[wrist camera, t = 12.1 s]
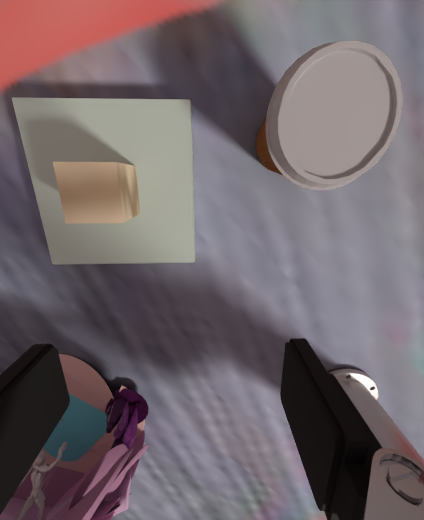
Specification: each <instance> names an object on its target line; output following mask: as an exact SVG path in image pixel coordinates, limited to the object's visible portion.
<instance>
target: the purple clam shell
mask: <svg viewBox="0 0 424 520" xmlns="http://www.w3.org/2000/svg"><path fill="white" fill-rule="evenodd" d="M59 358H60V361H61V365H62V369H63V373H64V377H65V381H66V385H67V389H68V392H69V396H70V403H69V406H68V408H67V410H66V412H65V413H64V415H63V416H62V418H61V420H60V421H59V423H58V424H57V426H56V428H55V429H54V431H53V432H52V434H51V435H50V437H49V439H48V440H47V442H46V443H45V445H44V447H43V448H42V450H41V451H40V453H39V455H38V456H37V458H36V459H35V461H34V463H33V464H32V466H31V467H30V469H29V471H28V472H27V474H26V475H25V477H24V478H23V480H22V482H21V483H20V485H19V486H18V488H17V490H16V491H15V493H14V494H13V496H12V498H11V499H10V501H9V502H8V504H7V506H6V507H5V509H4V510H3V512H2V513H1V515H0V520H110V519H111V518H112V516H114V515H116V514H118V513H120V512H122V511H125V510H127V509H128V506H129V495H130V494H131V493H130V484H131V479H132V477H133V475H134V472H135V470H136V467H137V465H138V462H139V459H140V457H141V456H142V454H143V453H144V452H145V451H146V449H147V447H148V444H147V445H145V446H144V447H143V443H144V435H145V433H144V424H145V418H146V416H147V414H148V405H147V402H146V401H145V399H144V398H143V397H142V396H141V395H139V394H138V393H137V392H135V391H133V390H131V389H127V387H126V388H125V387H124V386H121V388H120V389H119V390H117V391H115V392H113V393H111V391H110V389H109V387H108V386H107V384H106V382H105V381H104V380H103V378H102V377H101V376H100V375H99V374H98V373H97V372H96V371H95V370H94V369H93V368H92V367H91V366H89V365H88V364H87V363H85V362H83V361H82V360H80V359H78V358H75V357H73V356H69V355H65V354H59Z"/></svg>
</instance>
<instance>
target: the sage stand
mask: <svg viewBox="0 0 424 520" xmlns="http://www.w3.org/2000/svg"><path fill="white" fill-rule="evenodd" d="M12 102H13V106H14V110H15V114H16V118H17V122H18V126H19V130H20V134H21V138H22V142H23V147H24V151H25V155H26V159H27V163H28V167H29V171H30V175H31V179H32V183H33V187H34V191H35V195H36V200H37V204H38V208H39V212H40V216H41V220H42V224H43V228H44V232H45V236H46V240H47V244H48V248H49V253H50V257H51V261H52V265H60V264H124V263H187V262H195V219H194V181H193V143H192V108H191V101H190V100H182V99H95V98H12ZM53 162H118V163H124V164H129V165H134V166H136V175H137V185H138V195H139V205H140V214H139V215H137V216H135V217H133V218H132V219H130V220H128V221H126V222H125V223H77V224H66V223H65V218H64V214H63V209H62V204H61V199H60V194H59V190H58V185H57V180H56V175H55V171H54V166H53Z"/></svg>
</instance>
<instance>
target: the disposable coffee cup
mask: <svg viewBox="0 0 424 520" xmlns="http://www.w3.org/2000/svg"><path fill="white" fill-rule="evenodd" d="M401 111H402V89H401V82H400V80H399V77H398V74H397V72H396V69H395V67H394V66H393V64H392V62H391V61H390V59H389V58H388V57H387V56H386V55H385V54H384V53H383V52H382V51H380V50H379V49H377V48H376V47H374V46H373V45H371V44H367V43H363V42H359V41H343V42H334V43H328V44H324V45H321V46H319V47H316V48H314V49H311V50H310V51H309V52H307V53H306V54H304V55H303V56H301V57H300V58H298V59H297V60H296V61H295V62H294V63H293V64H292V65H291V66H290V67H289V69H288V70H287V71H286V72H285V73H284V75H283V77H282V78H281V80H280V81H279V83H278V84H277V86H276V88H275V90H274V92H273V95H272V98H271V100H270V103H269V106H268V110H267V117H266V119H265V121H264V122H263V124H262V126H261V128H260V130H259V132H258V135H257V139H256V152H257V155H258V158H259V160H260V162H261V163H262V164H263V166H265V167H266V168H267V169H269V170H271V171H273V172H276V173H279V174H281V175H283V176H284V177H285V178H287V179H288V180H289V181H291V182H292V183H294V184H296V185H298V186H300V187H302V188H305V189H310V190H330V189H335V188H339V187H341V186H344V185H346V184H349V183H350V182H352V181H353V180H355V179H356V178H358V177H359V176H361V175H362V174H363V173H365V172H366V171H367V170H369V169H370V168H371V167H372V166H374V165H375V164H376V163H377V162H378V161H379V159H380V158H381V157H382V156H383V155H384V153H385V152H386V150H387V149H388V147H389V146H390V144H391V142H392V140H393V138H394V136H395V134H396V131H397V128H398V124H399V120H400V116H401Z"/></svg>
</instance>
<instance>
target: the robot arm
mask: <svg viewBox="0 0 424 520" xmlns="http://www.w3.org/2000/svg"><path fill="white" fill-rule="evenodd" d="M280 395H281V402H282V405H283V408H284V411H285V414H286V417H287V419H288V422H289V425H290V428H291V431H292V434H293V437H294V440H295V443H296V446H297V449H298V452H299V455H300V457H301V460H302V463H303V466H304V469H305V472H306V475H307V478H308V481H309V484H310V487H311V490H312V493H313V495H314V498H315V501H316V504H317V506H318V508H319V510H320V511H325V514H326V517H327V520H424V459H423V458H422V457H421V456H420V454H419V453H418V452H417V450H416V449H415V448H414V447H413V445H412V444H411V443H410V442H409V440H408V439H407V438H406V437H405V435H404V434H403V433H402V431H401V430H400V429H399V428H398V426H397V425H396V424H395V423H394V421H393V420H392V419H391V418H390V416H389V415H388V414H387V412H386V411H385V410H384V409H383V407H382V406H381V405H380V404H379V402H378V401H377V398H378V388H377V386H376V384H375V382H374V381H373V380H372V379H371V378H370V377H369V375H367V374H366V373H364V372H362V371H359V370H356V369H339V370H334V371H331V372H328V373H327V371H326V369H325V368H324V366H323V365H322V363H321V362H320V360H319V359H318V357H317V355H316V354H315V352H314V351H313V349H312V348H311V346H310V345H309V343H308V341H307V340H306V339H304V338H303V339H290V342H289V343H286V344H285V353H284V363H283V373H282V383H281V393H280ZM69 403H70V396H69V392H68V389H67V385H66V381H65V377H64V373H63V369H62V365H61V361H60V358H59V354H58V350H57V348H54V346H53V345H52V344H35V345H33V346H32V347H31V348H30V349H28V350H27V351H26V352H25V353H24V354H23V355H22V356H21V357H20V358H19V359H17V360H16V361H15V362H14V363H13V364H12V365H11V366H10V367H9V368H8V369H7V370H5V371H4V372H3V373H2V374H1V375H0V515H1V513H2V512H3V510H4V509H5V507H6V506H7V504H8V502H9V501H10V499H11V498H12V496H13V494H14V493H15V491H16V490H17V488H18V486H19V485H20V483H21V482H22V480H23V478H24V477H25V475H26V474H27V472H28V471H29V469H30V467H31V466H32V464H33V463H34V461H35V459H36V458H37V456H38V455H39V453H40V451H41V450H42V448H43V447H44V445H45V443H46V442H47V440H48V439H49V437H50V435H51V434H52V432H53V431H54V429H55V428H56V426H57V424H58V423H59V421H60V420H61V418H62V416H63V415H64V413H65V412H66V410H67V408H68V406H69Z"/></svg>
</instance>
